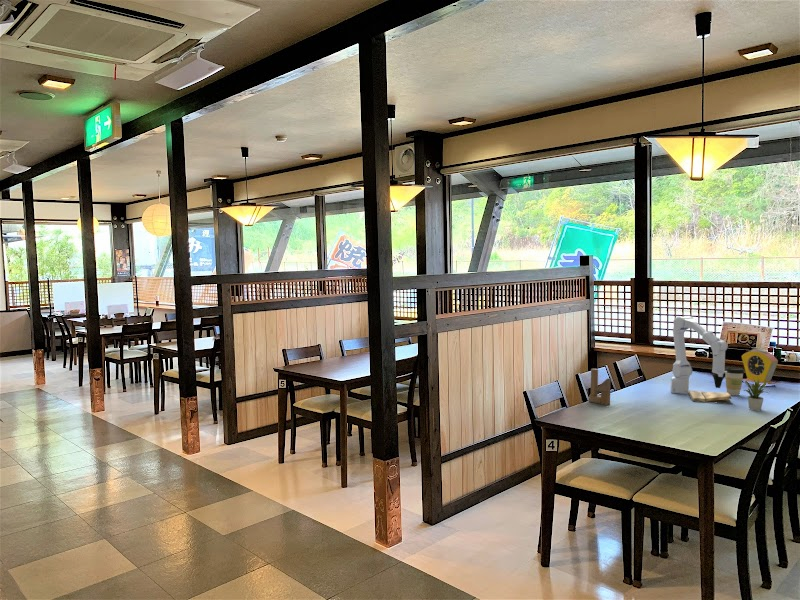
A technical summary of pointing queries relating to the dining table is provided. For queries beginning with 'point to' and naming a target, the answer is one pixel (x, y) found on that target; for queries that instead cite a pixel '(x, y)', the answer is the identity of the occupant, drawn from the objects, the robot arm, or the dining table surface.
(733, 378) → the coffee cup
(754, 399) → the house plant
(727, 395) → the oak plank
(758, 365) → the yellow mantel clock
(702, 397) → the floor panel
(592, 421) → the dining table surface
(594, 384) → the wooden block
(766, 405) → the dining table surface
